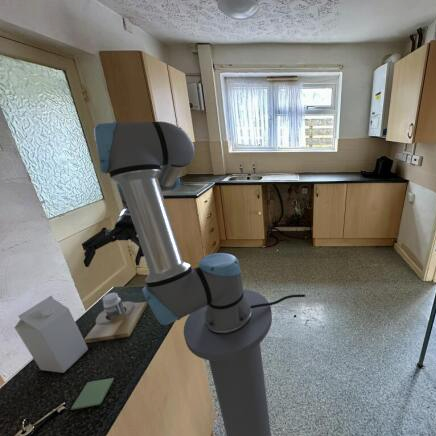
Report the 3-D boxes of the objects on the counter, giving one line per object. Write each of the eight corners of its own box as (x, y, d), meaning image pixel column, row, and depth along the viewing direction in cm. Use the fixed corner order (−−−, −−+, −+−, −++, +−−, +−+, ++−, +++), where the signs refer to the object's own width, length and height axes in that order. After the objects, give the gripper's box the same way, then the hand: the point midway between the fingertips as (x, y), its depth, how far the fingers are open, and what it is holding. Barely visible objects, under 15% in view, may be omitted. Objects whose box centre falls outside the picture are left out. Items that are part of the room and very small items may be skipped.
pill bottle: (119, 310, 83) (111, 290, 79) (129, 312, 81) (121, 292, 78) (105, 320, 78) (97, 299, 75) (116, 323, 77) (107, 302, 74)
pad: (114, 379, 60) (113, 377, 59) (100, 404, 54) (99, 403, 54) (88, 383, 59) (87, 382, 59) (71, 410, 53) (70, 408, 53)
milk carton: (40, 370, 62) (6, 314, 55) (67, 347, 69) (40, 294, 62) (63, 373, 61) (31, 317, 54) (89, 349, 68) (63, 296, 61)
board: (149, 301, 86) (148, 298, 85) (129, 336, 72) (127, 333, 71) (108, 307, 84) (107, 303, 84) (79, 344, 70) (78, 340, 69)
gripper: (165, 230, 98) (157, 269, 82) (91, 229, 89) (66, 273, 74) (164, 215, 94) (155, 254, 78) (86, 213, 85) (58, 256, 69)
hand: (112, 263), depth 76 cm, fingers open, 13 cm apart
